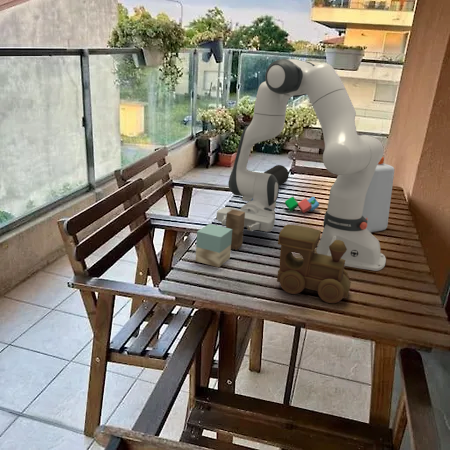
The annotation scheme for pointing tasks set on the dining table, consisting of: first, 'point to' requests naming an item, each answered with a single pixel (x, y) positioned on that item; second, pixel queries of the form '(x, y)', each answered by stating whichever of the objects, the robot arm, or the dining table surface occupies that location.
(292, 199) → the building blocks
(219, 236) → the upper block
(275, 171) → the portable speaker
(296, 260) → the wooden toy train
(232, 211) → the walnut post
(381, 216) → the plastic bottle
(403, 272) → the dining table surface
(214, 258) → the lower block
